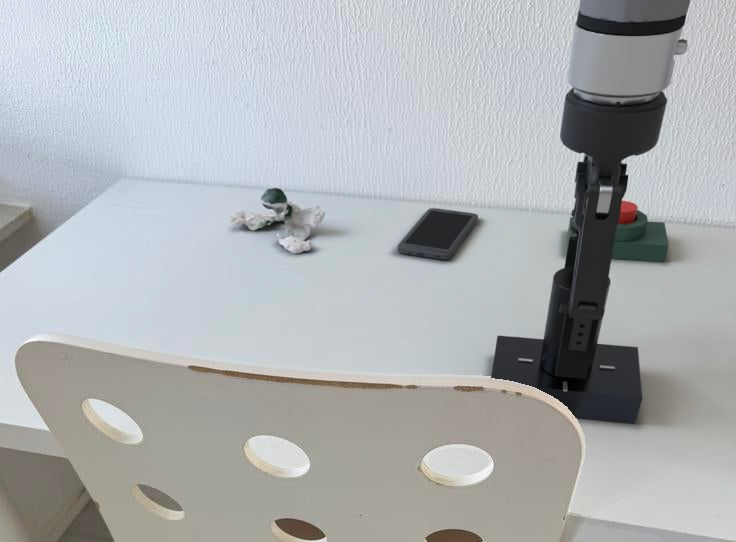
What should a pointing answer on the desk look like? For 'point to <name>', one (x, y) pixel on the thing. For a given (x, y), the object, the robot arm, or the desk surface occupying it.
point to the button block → (638, 240)
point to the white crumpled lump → (283, 219)
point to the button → (628, 212)
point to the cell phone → (438, 233)
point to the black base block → (582, 396)
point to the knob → (561, 320)
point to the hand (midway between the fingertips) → (571, 336)
